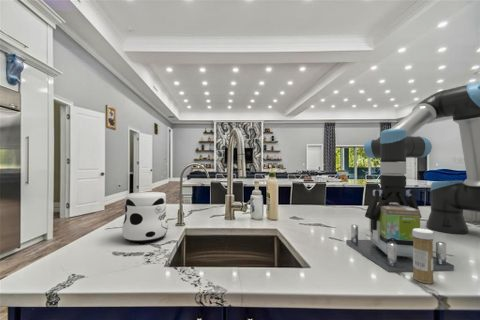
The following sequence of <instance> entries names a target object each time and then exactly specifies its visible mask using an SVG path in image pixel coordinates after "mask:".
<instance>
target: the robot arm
mask: <svg viewBox="0 0 480 320" xmlns="http://www.w3.org/2000/svg"><path fill="white" fill-rule="evenodd" d="M448 117H452V121H453V122H454V123H456V124H458V128H459V129H458V130H459V136H460V140H461V148H462V154H463V160H464V166H465V171H466V172H465V174H466V179H464V180H439V181H433V182H432V183H431V184H430V185H431V186H430V189H429V190H430V213H429V216H428V217H427V218H428V219H427V220H426V223H425V224H426V228H427V229H428V230H431V231H436V232H440V233H445V234H446V233H447V234H458V235H465V234H466V235H467V234H469V226H468V225H467V222H466V219H465V216H464V211H469V212H473V213H474V212H476V213H480V81H479V82H472V83H468V84H464V85H461V86H457V87H452V88H449V89H443V90H440V91H438V92H435V93H433V94H432V95H429V96H428V97H426V98H424V99H423V100H421V101H420V102H419V103H417V104H416V105H415V106H414V107H412V110H411V112H410V113H408V114H407V115H406V116H404V117H403V118H402V119H401V120H399V121H398V122H397V123H396V124H395V125H393V126H392V127H391V128H389V129H384V130H383V129H382V131H381V133H380V136H379V137H378V138H377V139H371V140H367V141H366V142H365V144H364V145H363V152H364V155H365V156H366V157H368V158H371V159H379V161H380V163H379V164H380V167H379V168H380V170H379V171H380V174H381V175H379V176H380V177H379V178H380V180H379V184H380V189H372V190H371V197H370V200H369V203H368V206H367V208H366V210H365V214H364V217H365V218H367V219H368V220H369V219H370V220H371V229H372V230H373V239H375V240H377V241H380V221H378V219H379V217H380V210H381V208H380V206H387V205H388V204H389V203H399V205H403V206H409V207H412V208H415V209H418V210H420V209H419V206H418V203H417V199H416V195H415V194H416V191H415V190H414V189H406V187H407V176H406V174H407V159H408V158H409V159H411V158H413V159H419V158H425V157H427V156H428V155H430V154H431V152H432V149H433V146H432V145H433V144H432V143H431V142H432V141H430V140H429V139H428V138H426V137H424V136H419V135H418V136H413V135H414V134H415V133H417V132H418V131H419V130H421V129H422V127H424V126H425V125H426V124H430V123H432V122H434V120H438V119H442V118H448ZM378 202H379V204H378ZM377 204H378V205H377ZM376 206H377V207H376ZM421 218H422V214H421V213H420V219H421Z"/></svg>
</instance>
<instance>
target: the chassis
mask: <svg viewBox="0 0 480 320" xmlns="http://www.w3.org/2000/svg"><path fill="white" fill-rule="evenodd" d="M350 227H351V228H350V235H351V236H350V239H346V240H345V241H346V245H347V246H349V247H351V248H352V249H353V250H354V251H357V253H358V254H360V255H362V256H364V257H366V258H367V259H368V260H370V261H372V263H374V264H376V265H377V266H379V267H381V268H382V269H384V270H385V271H386V272H388V273H403V272H404V273H405V272H409V273H410V272H412V273H413V257H408V256H397V244H396V243H391V242H388V243H387V254H385V253H384V252H383V251H382V250H381V249H380V248H379V247H378V246H377V245H375V244H374V243H373V242H372V241H371V239H359V225H357V224H351V225H350ZM442 271H443V272H444V271H448V272H449V271H455V265H454V264H452V263H450V262H447V243H446V242H444V241H435V256H434V255H433V272H442Z"/></svg>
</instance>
